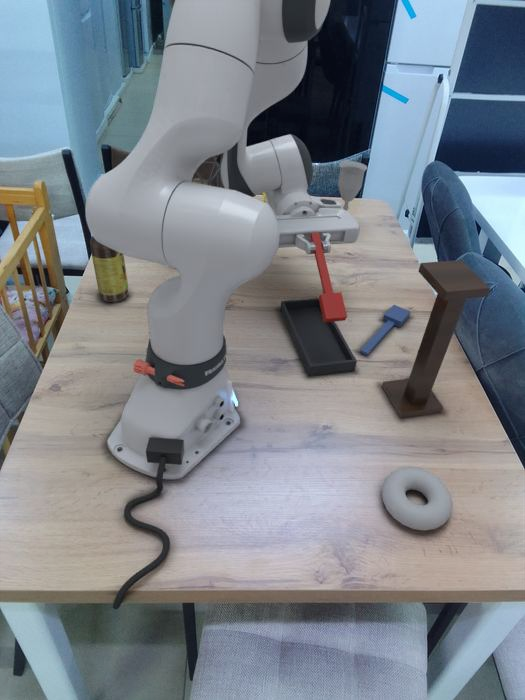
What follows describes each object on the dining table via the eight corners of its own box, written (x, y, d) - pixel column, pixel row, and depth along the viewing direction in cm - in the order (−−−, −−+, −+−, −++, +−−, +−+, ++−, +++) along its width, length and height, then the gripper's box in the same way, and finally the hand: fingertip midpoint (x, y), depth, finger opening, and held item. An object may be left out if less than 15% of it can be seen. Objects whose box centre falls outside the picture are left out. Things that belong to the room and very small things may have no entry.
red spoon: (344, 320, 91) (347, 317, 90) (323, 322, 90) (326, 319, 89) (324, 234, 97) (326, 230, 95) (304, 235, 96) (306, 231, 94)
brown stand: (381, 386, 93) (417, 263, 76) (420, 381, 95) (464, 259, 78) (400, 418, 87) (443, 292, 70) (441, 412, 89) (493, 287, 72)
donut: (457, 535, 71) (436, 475, 78) (465, 522, 68) (443, 461, 76) (387, 535, 70) (373, 474, 78) (393, 522, 68) (378, 461, 75)
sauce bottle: (133, 298, 110) (122, 212, 97) (105, 306, 107) (90, 219, 94) (122, 284, 114) (110, 200, 101) (95, 291, 111) (79, 206, 98)
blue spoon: (392, 310, 112) (393, 304, 111) (408, 317, 110) (410, 311, 109) (354, 350, 100) (355, 344, 99) (372, 358, 99) (373, 352, 98)
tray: (354, 370, 96) (356, 361, 94) (308, 376, 94) (310, 366, 92) (319, 306, 111) (321, 297, 110) (279, 310, 109) (280, 301, 108)
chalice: (326, 233, 139) (336, 168, 127) (331, 223, 144) (341, 159, 132) (352, 238, 137) (365, 172, 126) (356, 227, 142) (369, 164, 131)
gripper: (250, 205, 100) (266, 238, 90) (346, 200, 105) (372, 231, 94) (249, 233, 104) (264, 268, 94) (341, 228, 109) (366, 261, 99)
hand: (319, 250), depth 94 cm, fingers closed on red spoon, 2 cm apart
